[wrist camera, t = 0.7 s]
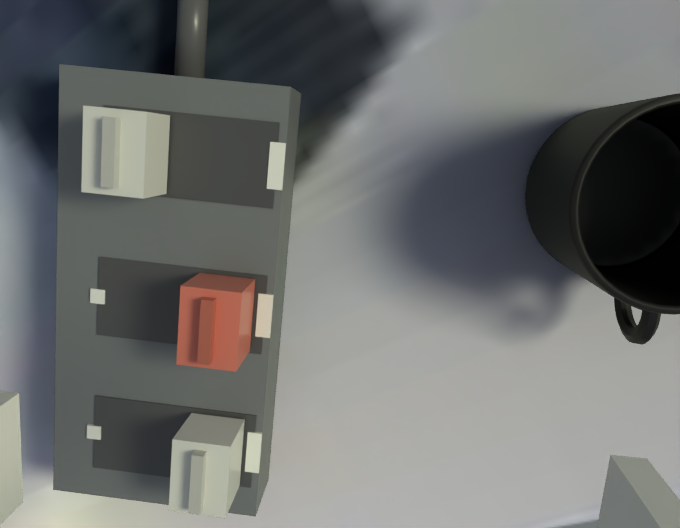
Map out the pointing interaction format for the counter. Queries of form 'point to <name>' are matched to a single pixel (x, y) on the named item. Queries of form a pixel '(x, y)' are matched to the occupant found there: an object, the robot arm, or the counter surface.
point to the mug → (615, 205)
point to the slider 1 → (124, 152)
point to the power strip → (168, 272)
